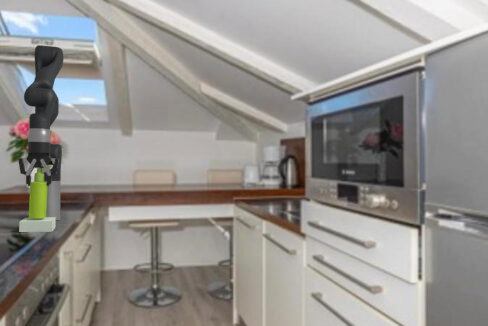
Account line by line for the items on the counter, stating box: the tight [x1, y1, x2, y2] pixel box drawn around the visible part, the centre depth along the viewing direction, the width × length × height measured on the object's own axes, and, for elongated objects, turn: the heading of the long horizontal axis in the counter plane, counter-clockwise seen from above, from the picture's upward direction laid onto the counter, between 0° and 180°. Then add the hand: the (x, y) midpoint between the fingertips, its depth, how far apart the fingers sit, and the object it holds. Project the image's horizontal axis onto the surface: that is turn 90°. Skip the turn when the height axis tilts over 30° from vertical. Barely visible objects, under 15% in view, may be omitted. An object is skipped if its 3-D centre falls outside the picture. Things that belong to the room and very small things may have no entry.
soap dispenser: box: [28, 165, 52, 218], centre depth 154 cm, size 6×7×20 cm
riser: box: [18, 217, 57, 233], centre depth 154 cm, size 10×11×4 cm
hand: (38, 185), depth 154 cm, fingers closed on soap dispenser, 6 cm apart
